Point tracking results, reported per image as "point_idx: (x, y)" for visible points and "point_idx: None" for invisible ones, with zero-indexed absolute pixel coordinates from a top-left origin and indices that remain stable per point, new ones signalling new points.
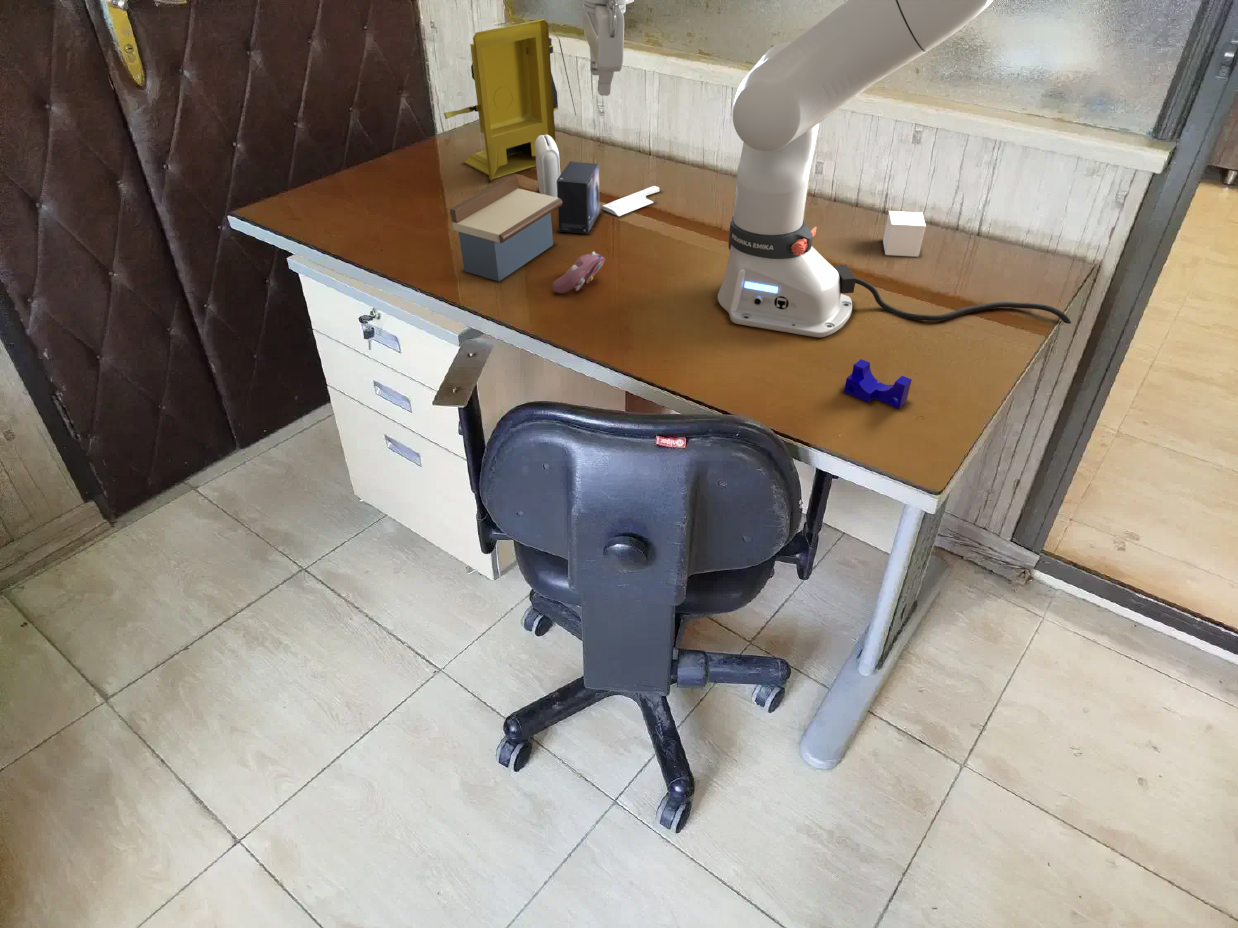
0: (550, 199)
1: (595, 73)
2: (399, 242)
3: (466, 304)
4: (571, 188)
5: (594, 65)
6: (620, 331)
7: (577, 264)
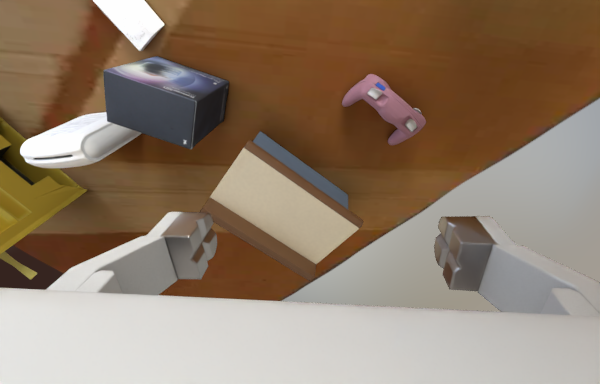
0: (249, 159)
1: (213, 238)
2: (248, 268)
3: (390, 224)
4: (198, 123)
5: (200, 264)
6: (531, 62)
7: (402, 122)
